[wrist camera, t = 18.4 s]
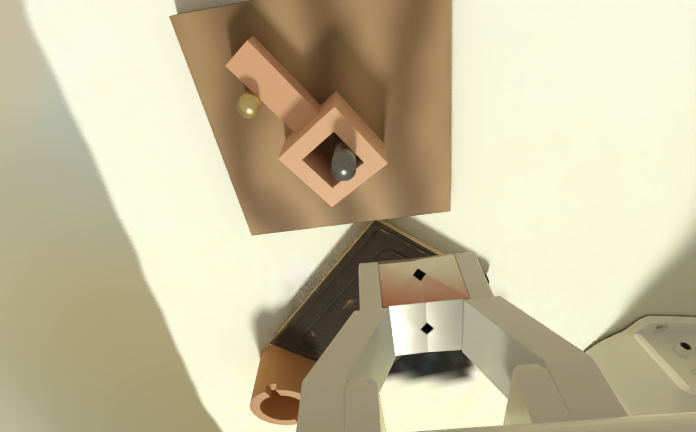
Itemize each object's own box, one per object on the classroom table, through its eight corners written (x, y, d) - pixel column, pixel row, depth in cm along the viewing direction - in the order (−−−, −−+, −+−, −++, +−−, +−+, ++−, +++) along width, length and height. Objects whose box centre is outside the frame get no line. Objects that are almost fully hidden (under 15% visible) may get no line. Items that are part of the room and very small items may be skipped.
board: (446, -35, 26) (451, -35, 25) (447, 202, 37) (450, 211, 36) (177, 13, 28) (169, 16, 27) (254, 226, 39) (251, 235, 38)
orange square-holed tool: (268, 17, 27) (257, 25, 23) (383, 142, 32) (387, 163, 29) (218, 75, 29) (201, 90, 26) (333, 183, 34) (331, 207, 31)
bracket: (249, 351, 51) (237, 399, 46) (302, 334, 49) (295, 383, 44) (311, 412, 60) (307, 459, 55) (357, 401, 58) (358, 448, 53)
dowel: (262, 84, 29) (254, 95, 27) (268, 104, 30) (260, 116, 28) (243, 87, 29) (233, 98, 27) (249, 107, 30) (240, 119, 28)
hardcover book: (273, 329, 49) (270, 344, 47) (374, 208, 38) (375, 221, 36) (371, 368, 54) (372, 383, 52) (485, 271, 43) (491, 285, 41)
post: (353, 126, 31) (354, 157, 26) (356, 146, 32) (357, 179, 27) (332, 129, 31) (329, 160, 26) (335, 148, 32) (333, 182, 27)
